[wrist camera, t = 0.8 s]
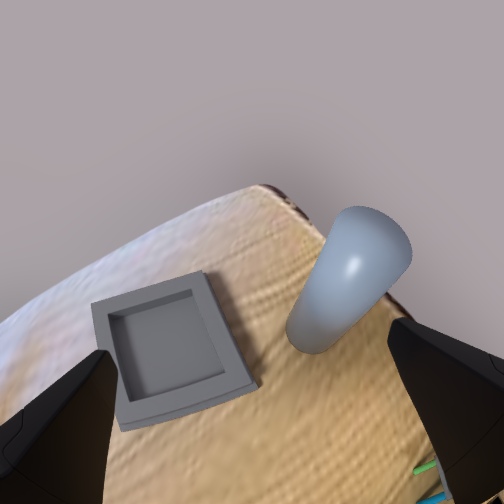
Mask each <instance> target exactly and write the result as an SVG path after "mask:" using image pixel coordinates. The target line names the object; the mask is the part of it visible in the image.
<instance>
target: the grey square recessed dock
mask: <svg viewBox="0 0 504 504" xmlns="http://www.w3.org/2000/svg"><path fill="white" fill-rule="evenodd" d="M91 309H92V317H93V323H94V329H95V335H96V340H97V346H98V349H101V350H108V351H109V352H110V354H111V356H112V358H113V360H114V362H115V364H116V366H117V369H118V383H117V393H116V404H115V415H116V418H117V421H118V424H119V427H120V430H121V432H126V431H130V430H135V429H139V428H143V427H147V426H151V425H155V424H159V423H163V422H166V421H170V420H173V419H177V418H180V417H183V416H187V415H190V414H193V413H196V412H199V411H202V410H205V409H208V408H211V407H214V406H216V405H219V404H222V403H225V402H227V401H230V400H233V399H235V398H238V397H240V396H243V395H245V394H248V393H250V392H253V391H255V390H257V389H258V386H257V384H256V382H255V380H254V378H253V376H252V374H251V372H250V370H249V368H248V366H247V364H246V362H245V359H244V357H243V355H242V353H241V351H240V349H239V347H238V345H237V342H236V340H235V338H234V336H233V334H232V332H231V329H230V327H229V325H228V323H227V321H226V318H225V316H224V314H223V312H222V309H221V307H220V305H219V303H218V300H217V298H216V296H215V293H214V291H213V289H212V286H211V284H210V282H209V279H208V277H207V275H206V273H203V272H202V270H200V271H197V272H194V273H190V274H187V275H184V276H181V277H177V278H174V279H171V280H167V281H164V282H161V283H158V284H154V285H151V286H148V287H144V288H141V289H138V290H134V291H131V292H128V293H125V294H121V295H118V296H115V297H111V298H108V299H105V300H101V301H98V302H95V303H91Z"/></svg>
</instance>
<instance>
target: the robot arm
mask: <svg viewBox="0 0 504 504" xmlns="http://www.w3.org/2000/svg"><path fill="white" fill-rule="evenodd" d="M387 343H388V347H389V349H390V352H391V354H392V357H393V359H394V362H395V364H396V367H397V369H398V372H399V375H400V377H401V379H402V382H403V384H404V386H405V388H406V390H407V392H408V394H409V396H410V398H411V400H412V402H413V404H414V406H415V408H416V410H417V412H418V415H419V417H420V419H421V421H422V423H423V425H424V427H425V430H426V432H427V434H428V436H429V439H430V441H431V443H432V446H433V448H434V450H435V453H436V455H437V457H438V460H439V462H440V465H441V467H442V470H443V472H444V475H445V478H446V481H447V483H448V486H449V489H450V492H451V494H452V497H453V500H454V503H455V504H482V503H483V502H485V501H487V500H488V499H490V498H492V497H493V496H495V495H496V494H497V495H496V496H495V497H494V498H493V499H492V500H490V501H489V502H488V503H487V504H504V359H501V358H499V357H496V356H494V355H492V354H488V353H487V352H485V351H482V350H480V349H478V348H475V347H473V346H470V345H468V344H466V343H464V342H461V341H459V340H457V339H454V338H452V337H450V336H447V335H445V334H443V333H440V332H438V331H436V330H433V329H430V328H428V327H426V326H424V325H422V324H419V323H417V322H415V321H412V320H410V319H408V318H405V317H401V318H398V319H395V320H393V322H392V324H391V328H390V331H389V335H388V339H387ZM117 383H118V369H117V366H116V364H115V362H114V360H113V358H112V356H111V354H110V352H109V351H108V350H101V349H98V350H95V351H94V352H92V353H91V354H90V355H89V356H87V357H86V358H85V359H84V360H82V361H81V362H80V363H79V364H77V365H76V366H75V367H73V368H72V369H71V370H70V371H68V372H67V373H66V374H65V375H63V376H62V377H61V378H60V379H58V380H57V381H56V382H55V383H53V384H52V385H51V386H50V387H48V388H47V389H46V390H45V391H43V392H42V393H41V394H40V395H39V396H37V397H36V398H35V399H34V400H32V401H31V402H30V403H29V404H27V405H26V406H25V407H24V409H21V410H20V411H19V412H18V413H17V414H15V415H14V416H13V417H12V418H10V419H9V420H8V421H6V422H5V423H4V424H2V425H1V426H0V504H102V503H103V490H104V480H105V472H106V464H107V456H108V450H109V443H110V437H111V431H112V426H113V420H114V414H115V404H116V393H117Z"/></svg>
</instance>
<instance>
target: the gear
mask: <svg viewBox="0 0 504 504" xmlns="http://www.w3.org/2000/svg"><path fill="white" fill-rule="evenodd" d="M434 457H435V459H434V460H432V461H430V462H428V463H426V464H424V465H422V466H420V467H417V468H415V469H413V473H414V475H416V474H419V473H421V472H423V471H425V470H428V469H430V468H432V467H434V466H436V465H437V468H438V472H439V475H440V478H441V481H442V485H443V488H444V491H443V492H441V493H439V494H437V495H435V496H432V497H430V498H428V499H425V500H423V501H420V502H418V503H416V504H435V503H438V502H440V501H442V500H444V499H447V501H448V500H450V499H452V498H453V497H452V494H451V492H450V489H449V486H448V483H447V481H446V478H445V475H444V472H443V470H442V467H441V465H440V462H439V460H438V457H437V455H434Z"/></svg>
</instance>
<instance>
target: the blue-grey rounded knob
mask: <svg viewBox="0 0 504 504" xmlns="http://www.w3.org/2000/svg"><path fill="white" fill-rule="evenodd" d="M411 260H412V248H411V244H410V242H409V239H408V237H407V235H406V234H405V232H404V231H403V230H402V228H401V227H400V226H399V225H398V224H397V223H396V222H395V221H394V220H392V219H391V218H390V217H389V216H387V215H385V214H384V213H382V212H380V211H378V210H375V209H372V208H369V207H364V206H353V207H349V208H346V209H344V210H343V211H341V212H340V213H339V215H338V216H337V218H336V220H335V222H334V225H333V227H332V229H331V231H330V234H329V236H328V238H327V240H326V242H325V244H324V246H323V248H322V251H321V253H320V255H319V257H318V259H317V261H316V263H315V265H314V267H313V269H312V271H311V273H310V275H309V277H308V279H307V281H306V283H305V285H304V287H303V289H302V291H301V293H300V295H299V297H298V299H297V301H296V303H295V305H294V307H293V309H292V311H291V313H290V314H289V316H288V318H287V321H286V334H287V337H288V339H289V341H290V342H291V344H292V345H293V346H294V347H295V348H297V349H298V350H300V351H301V352H304V353H307V354H319V353H322V352H324V351H326V350H328V349H329V348H330V347H331V346H332V345H333V344H334V343H335V342H337V341H338V340H339V339H340V338H341V337H342V336H343V335H344V334H345V333H346V332H347V331H348V330H349V329H350V328H351V327H353V326H354V325H355V324H356V323H357V322H358V321H359V320H360V319H361V318H362V317H363V316H364V315H365V314H366V313H367V312H368V311H369V310H370V309H371V308H372V307H373V306H374V304H375V303H376V302H377V301H378V300H379V299H380V298H381V297H382V296H383V295H384V294H385V293H386V292H387V291H388V290H389V288H390V287H391V286H392V285H393V284H394V283H395V282H396V281H397V280H398V278H399V277H400V276H401V275H402V274H403V273H404V271H405V270H406V269H407V268H408V267H409V265H410V263H411Z"/></svg>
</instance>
